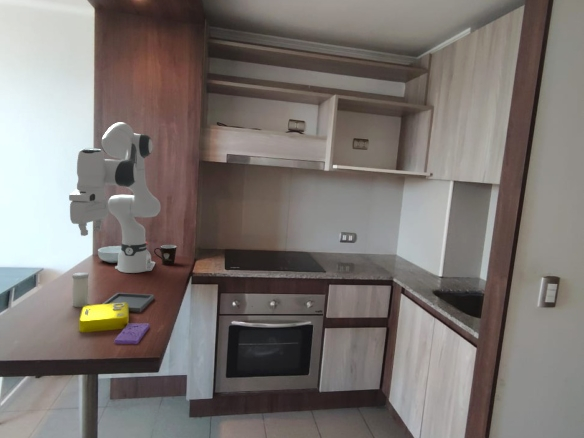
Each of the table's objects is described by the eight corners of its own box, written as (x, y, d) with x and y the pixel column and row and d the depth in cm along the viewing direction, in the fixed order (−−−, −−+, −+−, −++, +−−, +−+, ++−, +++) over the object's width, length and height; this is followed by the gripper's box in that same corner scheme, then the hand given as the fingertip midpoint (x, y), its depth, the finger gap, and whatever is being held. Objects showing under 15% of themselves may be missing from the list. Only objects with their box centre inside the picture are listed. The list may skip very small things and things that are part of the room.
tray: (117, 296, 154) (117, 292, 154) (153, 298, 155) (153, 294, 155) (99, 310, 140) (99, 305, 139) (139, 312, 140) (140, 308, 140)
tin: (77, 301, 146) (77, 272, 145) (91, 302, 146) (91, 273, 145) (69, 306, 141) (69, 276, 139) (83, 307, 141) (83, 277, 140)
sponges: (149, 328, 128) (149, 323, 128) (137, 345, 116) (137, 340, 116) (128, 327, 128) (128, 322, 128) (114, 345, 115) (114, 339, 115)
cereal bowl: (97, 258, 211) (98, 246, 210) (129, 257, 219) (129, 245, 218) (97, 266, 196) (97, 253, 195) (131, 264, 204) (132, 251, 203)
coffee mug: (179, 263, 212) (179, 246, 211) (168, 266, 204) (169, 248, 203) (163, 260, 217) (164, 243, 215) (152, 263, 209) (153, 245, 208)
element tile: (82, 316, 134) (82, 304, 133) (128, 312, 140) (128, 300, 140) (78, 334, 120) (78, 320, 120) (128, 329, 127) (128, 315, 126)
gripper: (96, 192, 141) (96, 228, 143) (65, 195, 121) (66, 237, 123) (113, 193, 141) (113, 229, 143) (85, 197, 121) (85, 238, 123)
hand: (91, 233), depth 133 cm, fingers open, 8 cm apart
